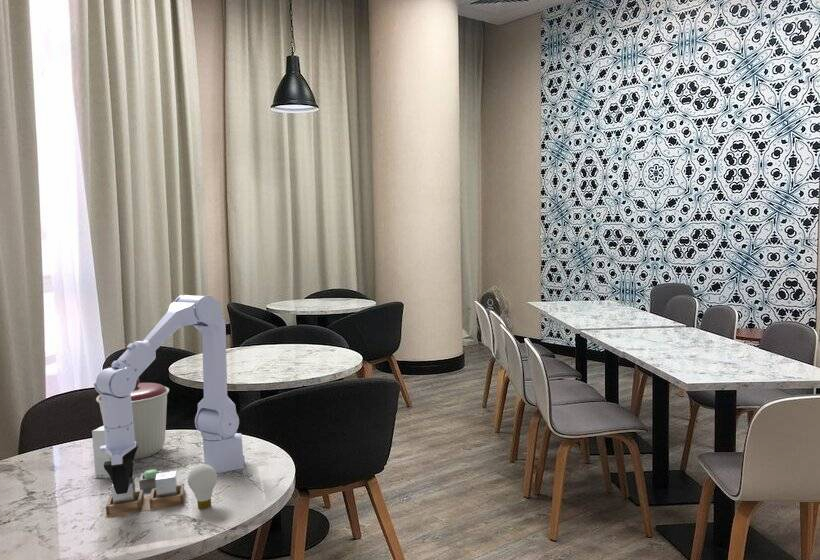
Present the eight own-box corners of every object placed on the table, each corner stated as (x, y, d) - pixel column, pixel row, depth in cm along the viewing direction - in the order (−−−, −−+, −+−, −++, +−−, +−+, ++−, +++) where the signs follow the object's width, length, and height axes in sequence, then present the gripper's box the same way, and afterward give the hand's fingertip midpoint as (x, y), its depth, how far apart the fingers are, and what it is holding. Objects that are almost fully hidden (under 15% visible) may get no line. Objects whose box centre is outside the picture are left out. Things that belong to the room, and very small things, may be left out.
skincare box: (110, 479, 164) (106, 431, 163) (95, 478, 165) (90, 430, 164) (126, 470, 170) (122, 423, 169) (110, 469, 171) (106, 423, 170)
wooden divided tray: (185, 494, 153) (184, 482, 152) (184, 509, 145) (183, 496, 144) (110, 505, 148) (109, 493, 148) (105, 521, 140) (104, 508, 140)
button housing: (163, 485, 159) (162, 470, 159) (161, 492, 154) (160, 477, 154) (142, 488, 158) (141, 473, 157) (140, 495, 153) (139, 480, 153)
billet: (136, 501, 148) (134, 476, 147) (134, 508, 144) (132, 483, 143) (116, 504, 146) (114, 479, 146) (113, 511, 143) (111, 486, 142)
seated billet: (177, 494, 150) (175, 470, 149) (177, 501, 146) (175, 477, 146) (158, 497, 149) (156, 473, 148) (157, 504, 145) (155, 480, 144)
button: (158, 485, 158) (157, 468, 157) (157, 489, 155) (156, 472, 155) (145, 487, 157) (144, 470, 157) (144, 491, 154) (143, 474, 154)
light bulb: (203, 519, 139) (199, 472, 138) (184, 513, 142) (180, 467, 141) (225, 508, 144) (222, 462, 143) (206, 503, 147) (202, 458, 146)
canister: (125, 442, 192) (119, 369, 190) (185, 442, 190) (179, 368, 188) (86, 465, 175) (79, 385, 173) (152, 466, 172) (145, 384, 170)
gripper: (103, 417, 149) (108, 477, 151) (92, 437, 135) (98, 502, 137) (137, 413, 151) (142, 472, 153) (130, 432, 137) (136, 497, 139)
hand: (124, 486), depth 145 cm, fingers open, 7 cm apart
